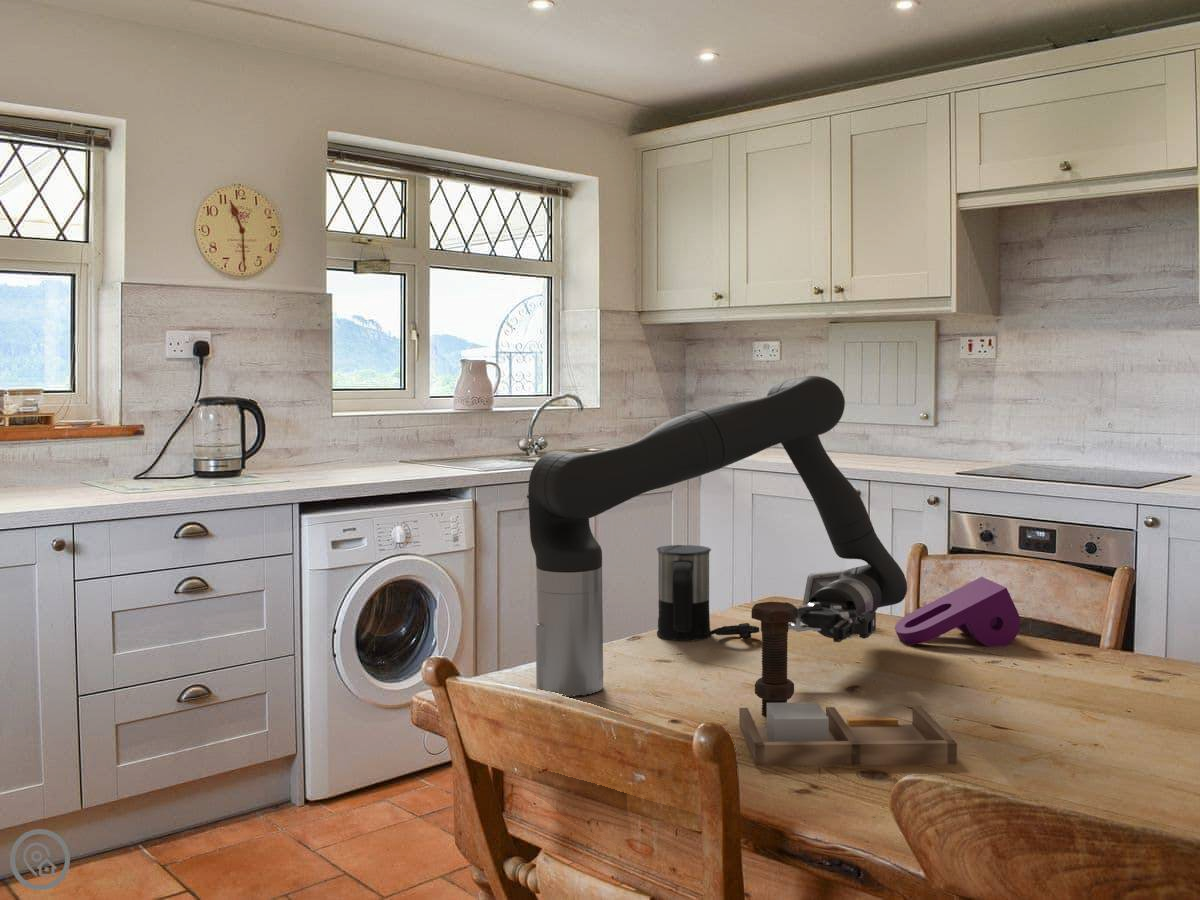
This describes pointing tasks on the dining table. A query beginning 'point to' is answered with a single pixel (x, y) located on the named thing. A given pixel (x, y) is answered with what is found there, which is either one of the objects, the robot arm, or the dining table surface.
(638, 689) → the dining table surface
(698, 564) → the milk frother
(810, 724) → the grey block
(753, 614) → the bolt
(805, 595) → the electrical switch
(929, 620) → the mounting bracket
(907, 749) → the tray
